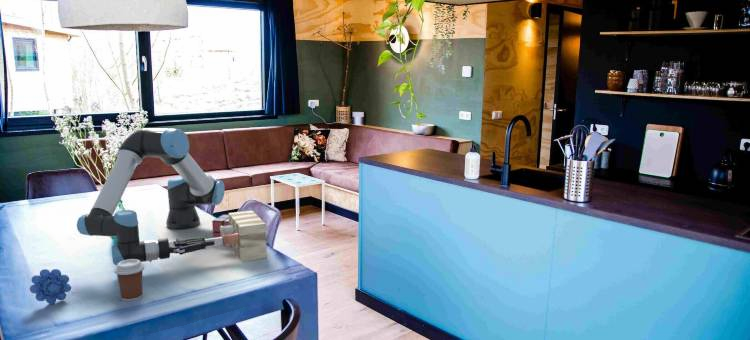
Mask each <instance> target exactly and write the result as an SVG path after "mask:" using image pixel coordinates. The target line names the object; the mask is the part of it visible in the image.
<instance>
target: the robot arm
mask: <svg viewBox="0 0 750 340" xmlns="http://www.w3.org/2000/svg"><path fill="white" fill-rule="evenodd" d="M189 151H190V141H189V137H188V135H187V134H186V132H184V131H183V130H181V129H180V128H172V127H170V128H153V127H151V128H150V127H145V128H140V129H137V130H136V131H134V132H132V133H131V134H130V135H129V136H127V137H126V138H125V140H124V141H123V142H122V143H121V145H120V146H119V148H118V150H117V151H116V156H117V158H116V160H115V161H114V164H113V166H112V168H111V170H110V172H109V174H108V176H107V177H106V180H105V182H104V184H103V186H102V188H101V190H100V191H99V194H98V195H97V198H96V199H95V202H94V204H93V206H92V208H91V209H90V211H89V213H85V214H82V215H80V216H79V217H78V219H77V221H76V228H77V229H76V230H77V232H79V234H80V235H85V236H90V237H93V236H94V237H95V236H96V237H110V238H111V237H112V238H113V237H114V238H116V244H113V245H111V255H112V256H111V257H112V262H113V265H115V266H117V264H118V263H119V262H121V261H124V260H128V259H138V260H140V262H141V263H144V262H149V263H152V261H156V260H157V261H158V259H159V260H165V259H169V258H170V257H171V254H179V255H180V256H181V255H185V254H187V253H188V254H189V253H193V252H198V251H201V250H206V249H207V247H214V246H223V238H222V237H217V238H213V237H211V238H210V237H209V238H205V237H204V236H202V237H195V238H194V237H193V238H192V237H191V238H176V239H175V240H173V241H171V242H170V241H169V239H168V238H167V237H166V238H165V237H164V238H159V239H157V240H156V239H150V240H142V241H140V233H139V232H140V231H139V220H138V215H137V212H136V211H135V210H132V209H131V210H130V209H125V210H124V209H123V210H119V211H116V209H117V207H118V206H119V203H120V201H121V200H122V197H123V195H124V193H125V190H126V189H127V186H128V184H129V183H130V180H131V178H132V176H133V174H134V172H135V169H136V168H137V166H138V165H140V164H141V163H142V162H143V159H145V158H159V159H160V160H161V161H162V162H163V163H164V164H166V165H167V166H172V167H173V169H174V170H175V171H176V172H177V173H178V175H180V176H177V177H174V178H170V179H169V180H168V181H167V188H166V190H167V197H168V198H167V199H168V214H167V218H166V227H167V228H168V229H173V230H185V229H192V228H194V227H197V226H199V225H200V224H201V218H200V216H199V213H198V211H197V209H196V205H203V206H205V205H206V206H219V205H220V204H221V203H222V202H223V201H224V197H225V184H224V182H223V180H219V179H218V180H217V179H214V177H213V176H212V175H211V174H209V173H205V171H204V170H203V169H202V168H201V167H200V165H199V164H198V163H197V162H196V161H195V159H194V158H193V157H192V155H191V154H190V153H189Z"/></svg>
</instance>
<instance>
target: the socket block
mask: <svg viewBox="0 0 750 340" xmlns="http://www.w3.org/2000/svg"><path fill="white" fill-rule="evenodd" d="M227 215H229V225H232V226H233V234H235V233H239V243H237V244H230V247H231V249H232V250H233V251H234V253H235V254H236V255H237V257H238V259H240V261H241V262H249V261H252V260H258V259H259V260H260V259H266V258H267V257H268V255H267V254H268V252H267V248H268V247H267V229H266V225H267V224H266V222H264V221H263V220H262V219H261V217H260V216H259V215H257V214H256V213H255V212H254V211H253V210H245V211H237V212H236V211H235V212H228V214H227Z"/></svg>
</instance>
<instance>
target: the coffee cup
mask: <svg viewBox="0 0 750 340" xmlns="http://www.w3.org/2000/svg"><path fill="white" fill-rule="evenodd" d="M144 269H145V265H144V264H143V262H140V260H138V259H128V260H124V261H121V262H119V263H118V264H117V265H116V267H115V268H114V269H113V271H114V272H113V273H114V274H115V275H116V276H117V280H118V286H119V291H120V296H121V297H120V298H121V300H122V301H125V302H132V301H136V300H139V299H141V298H142V297H143V271H144Z"/></svg>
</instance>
